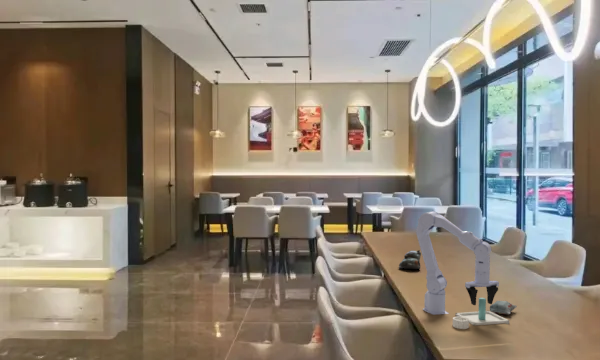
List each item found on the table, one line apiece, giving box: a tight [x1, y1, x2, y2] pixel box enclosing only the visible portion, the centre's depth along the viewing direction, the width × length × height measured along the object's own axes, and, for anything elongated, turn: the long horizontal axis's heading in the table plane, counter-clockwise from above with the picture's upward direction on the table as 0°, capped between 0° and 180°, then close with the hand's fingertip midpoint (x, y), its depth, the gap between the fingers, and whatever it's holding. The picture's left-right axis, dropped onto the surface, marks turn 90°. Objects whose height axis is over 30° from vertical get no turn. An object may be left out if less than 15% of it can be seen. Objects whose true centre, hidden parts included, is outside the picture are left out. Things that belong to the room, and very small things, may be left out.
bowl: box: [452, 316, 470, 330], centre depth 196 cm, size 6×6×4 cm
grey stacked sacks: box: [397, 249, 422, 270], centre depth 312 cm, size 15×12×14 cm
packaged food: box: [489, 300, 518, 316], centre depth 217 cm, size 9×12×5 cm
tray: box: [455, 310, 510, 326], centre depth 206 cm, size 14×16×2 cm
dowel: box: [477, 297, 487, 320], centre depth 206 cm, size 3×3×8 cm
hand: (481, 304), depth 206 cm, fingers open, 7 cm apart
